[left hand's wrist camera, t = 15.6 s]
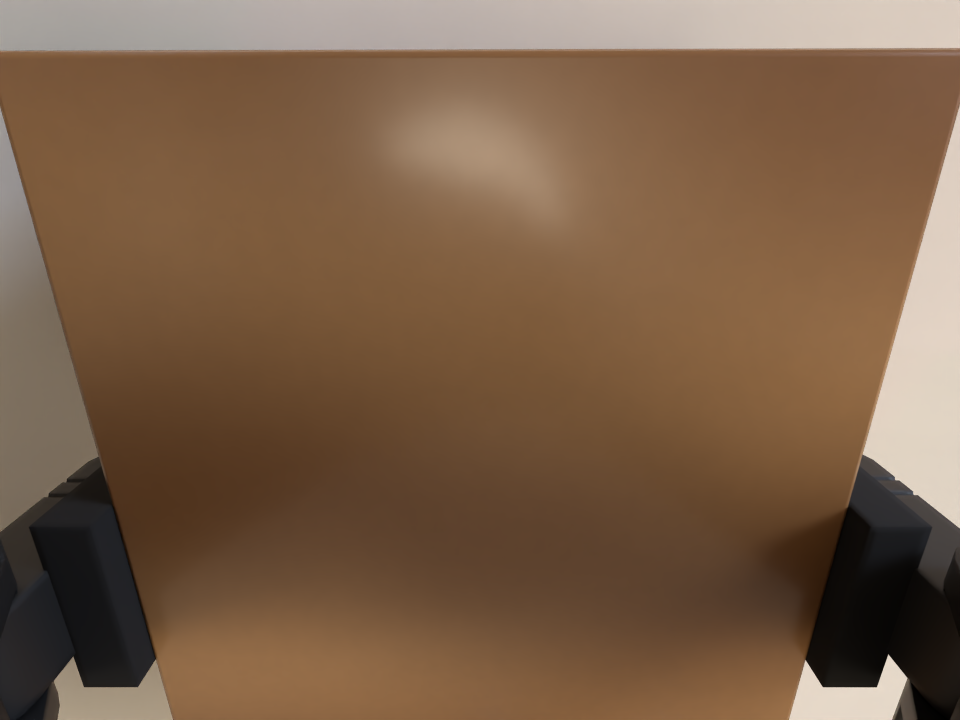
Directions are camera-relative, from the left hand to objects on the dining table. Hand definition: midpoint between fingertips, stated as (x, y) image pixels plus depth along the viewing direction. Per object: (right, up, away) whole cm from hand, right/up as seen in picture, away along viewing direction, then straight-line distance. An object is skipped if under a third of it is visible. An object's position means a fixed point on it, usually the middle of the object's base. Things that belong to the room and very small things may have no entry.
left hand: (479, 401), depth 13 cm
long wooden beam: (0, -22, +9) cm, 23 cm away
